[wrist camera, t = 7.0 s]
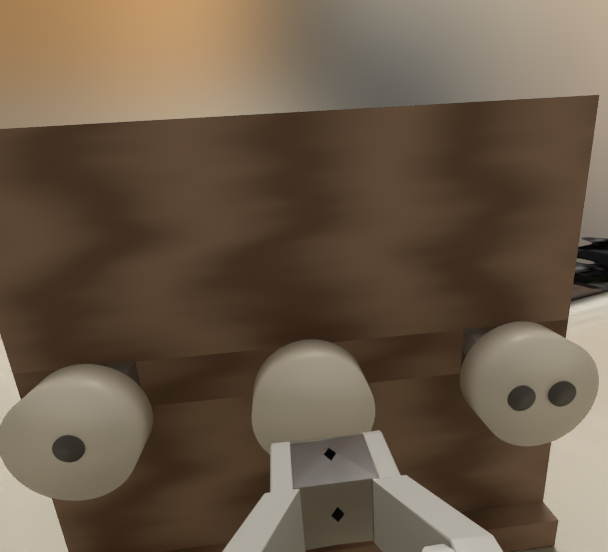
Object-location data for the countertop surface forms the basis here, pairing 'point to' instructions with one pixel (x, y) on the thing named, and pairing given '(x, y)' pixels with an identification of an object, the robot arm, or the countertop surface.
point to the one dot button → (78, 431)
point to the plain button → (310, 394)
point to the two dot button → (527, 382)
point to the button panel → (292, 289)
